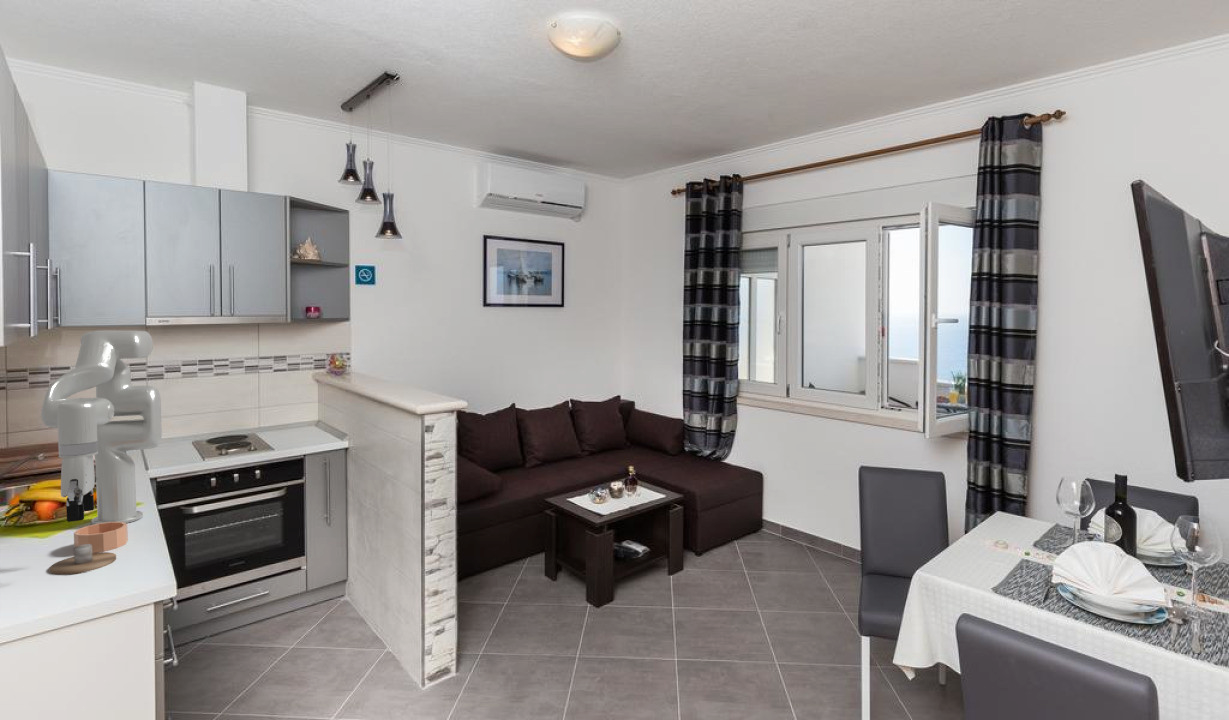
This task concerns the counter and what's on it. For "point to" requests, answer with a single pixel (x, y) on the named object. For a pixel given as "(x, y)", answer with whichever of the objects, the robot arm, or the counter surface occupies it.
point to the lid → (82, 561)
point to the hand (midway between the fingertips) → (81, 515)
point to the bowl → (102, 536)
